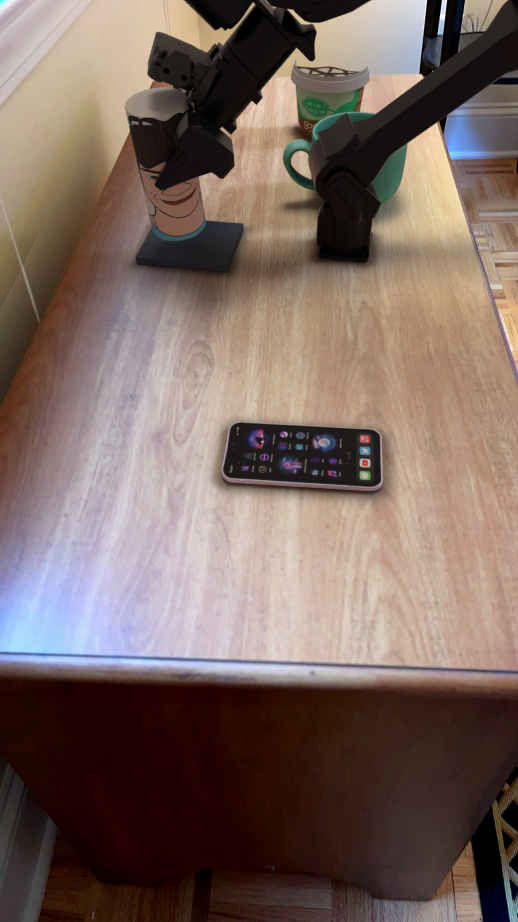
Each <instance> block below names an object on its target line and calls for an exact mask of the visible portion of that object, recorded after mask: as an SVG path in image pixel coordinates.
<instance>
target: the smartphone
mask: <svg viewBox="0 0 518 922" xmlns="http://www.w3.org/2000/svg"><path fill="white" fill-rule="evenodd" d="M383 468H384V467H383V436H382V434H381V433H380V432H379V431H378V430H376V429H374V428H363V427H347V426H346V427H345V426H327V425H309V424H294V423H293V424H292V423H291V424H290V423H276V422H275V423H274V422H256V421H255V422H254V421H236V422H233V423H232V424H231V425H230V426H229V428H228V430H227V438H226V443H225V449H224V454H223V459H222V465H221V476H222V478H223V479H224V480H225V481H226V482H228V483H233V484H249V485H250V484H251V485H265V486H266V485H267V486H279V487H282V486H283V487H297V488H298V487H299V488H312V489H313V488H314V489H329V490H330V489H332V490H345V491H346V490H348V491H362V492H363V491H364V492H374V491H375V492H376V491H378V490H379V489H381V487H382V485H383V484H384V483H383V482H384V476H383V475H384V473H383V471H384V469H383Z"/></svg>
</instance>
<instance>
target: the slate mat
mask: <svg viewBox="0 0 518 922" xmlns="http://www.w3.org/2000/svg"><path fill="white" fill-rule="evenodd" d="M244 228H245V227H244V223H242V222H241V223H240V222H229V221H219V220H218V221H217V220H206V225H205V227H204V229H203V230H202V231H201V232H200V233H199V234H198V235H196V236H194V237H192V238H189V239H186V240H181V241H168V240H164V239H161V238H159V237H157V236H156V235H155V234H154V232H153V230H152V227H151V228H150V230H149V232H148V233H147V236H146V237H145V239H144V241H143V243H142V244H141V246H140V248H139V250H138V251H137V253H136V255H135V261H136V264H137V265H146V266H158V267H166V268H167V267H168V268H178V269H179V268H180V269H189V270H200V271H211V272H221V273H228V272H229V269H230V267H231V264H232V262H233V259H234V256H235V254H236V251H237V249H238V245H239V243H240V241H241V239H242V235H243V234H244V230H245V229H244Z"/></svg>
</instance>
